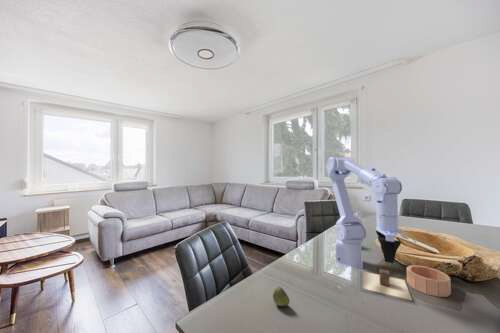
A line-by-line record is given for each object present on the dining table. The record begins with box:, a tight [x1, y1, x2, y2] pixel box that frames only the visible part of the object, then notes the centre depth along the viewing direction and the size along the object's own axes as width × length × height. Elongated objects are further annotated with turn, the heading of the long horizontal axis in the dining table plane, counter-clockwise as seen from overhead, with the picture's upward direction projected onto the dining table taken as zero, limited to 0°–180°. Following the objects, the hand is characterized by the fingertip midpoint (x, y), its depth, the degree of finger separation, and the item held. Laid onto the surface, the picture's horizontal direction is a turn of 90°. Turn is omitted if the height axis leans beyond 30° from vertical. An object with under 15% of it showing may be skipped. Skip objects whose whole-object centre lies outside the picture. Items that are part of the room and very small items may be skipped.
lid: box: [362, 268, 412, 302], centre depth 65 cm, size 12×12×5 cm
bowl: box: [406, 264, 452, 298], centre depth 64 cm, size 10×10×5 cm
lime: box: [272, 285, 290, 307], centre depth 56 cm, size 4×5×5 cm
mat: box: [359, 270, 418, 306], centre depth 65 cm, size 14×14×1 cm
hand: (387, 257), depth 65 cm, fingers open, 7 cm apart
